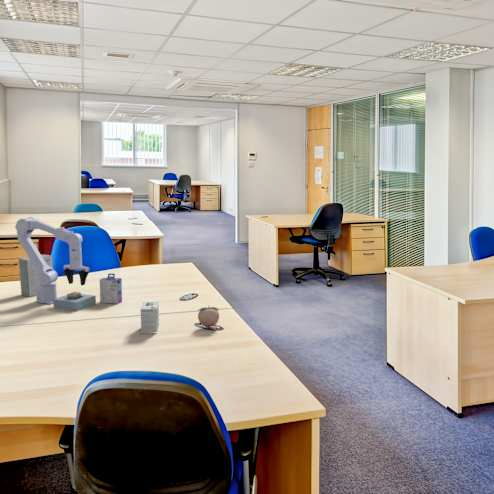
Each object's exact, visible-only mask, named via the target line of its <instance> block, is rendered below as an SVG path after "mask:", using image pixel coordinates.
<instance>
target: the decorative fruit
mask: <svg viewBox="0 0 494 494" xmlns="http://www.w3.org/2000/svg"><path fill="white" fill-rule="evenodd" d="M219 311H220V309H219V308H218V307H216V306H211V307H210V306H209V307H200V308H199V309H198V310H197V312H198V314H197V319H198V322H199V323H200V324H201V326H204V327H206V328H208V327H209V328H211V327H213V326H215V325H216V324H217V323H218V322H219V319H220V313H219ZM210 326H211V327H210Z"/></svg>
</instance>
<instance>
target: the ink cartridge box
mask: <svg viewBox="0 0 494 494" xmlns="http://www.w3.org/2000/svg"><path fill="white" fill-rule="evenodd" d="M115 276H116V274H115V273H108V275H107V277H103V278H100V279H99V302H100V304H101V303H103V304H120V303H122V302H123V288H122V287H123V286H122V283H123V282H122V278H119V277H115Z"/></svg>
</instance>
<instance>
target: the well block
mask: <svg viewBox="0 0 494 494" xmlns="http://www.w3.org/2000/svg"><path fill="white" fill-rule="evenodd" d="M96 297H97V296H96V295H91V294H85V293H81V298H79V299H76V300H72V299H67V294H66V295H63V296H60V297H57V298H56V299H53V302H54V303H53V308H54V309H60V310H67V311H74V312H78V311H80V310H83V309H86V308H89V307H91V306H94V305H96V304H97V303H96V301H97V300H96V299H97V298H96Z"/></svg>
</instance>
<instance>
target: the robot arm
mask: <svg viewBox="0 0 494 494" xmlns="http://www.w3.org/2000/svg"><path fill="white" fill-rule="evenodd" d="M14 227H15V229H16V235H17V240H18V242H19V244H20V245H21V247H22V249H23V250H24V251H25V253H26V255H27V256H28V257H29V258H30V260H31V261H32V263H33V264H34V266H35V268H36V269H37V273H36V275H37V276H38V281H39V283H40V284H39V285H38V286H37V288H36V300H35V303H41V304H49V305H50V304H54V302H53V299H56V298H58V294H57V293H58V292H57V282H56V281H57V280H58V277H59V275H58V272H57V271H56V270H55V269H54V268H53V269H52V268H51V267H50V266H49V265H47V264H46V262H45V261H44V259H43V257H42V256H41V255H42V254H41V253H40V251H39V249H38V247H37V246H36V244H35V243H34V242H33V239H32V238H31V236H32V234H33V232H34V230H40V231H42V232H45V233H49V234H51V235H53V236H54V238H55V239H57V240H60V241H62V242H65V243H67V245H69V246H68V247H69V249H68V251H69V264H64V265H63V273H64V274H65V277H66V279H67V281H68V282H67V283H68V284H69V285H71V284H73V283H74V272H75V271H78V275H79V280H80V282H79V283H80V286H84V285H85V284H86V280H87V278H88V275H89V273H90V267H89V266H86V265H85V266H84V265H83V256H82V255H83V253H82V242H83V236H82V234H80V233H79V232H74V231H72V230H71V231H70V230H67V229H66V228H65V227H63V226H61V227H60V226H59V227H57V228H56V227H54V226H53V225H50V224H49V223H46V222H44V221H41V220H39V219H38V218H35V217H32V216H29V217H26V218H19V219H18V220H17V221H16V224H15V226H14Z"/></svg>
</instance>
